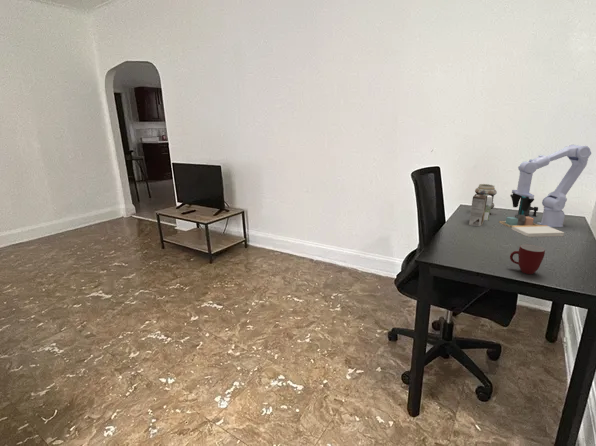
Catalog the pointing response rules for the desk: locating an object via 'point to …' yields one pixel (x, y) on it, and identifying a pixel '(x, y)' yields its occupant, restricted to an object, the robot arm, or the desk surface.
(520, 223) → the tan rectangular tray
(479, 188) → the stone pedestal urn
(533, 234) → the dock
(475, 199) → the coffee box
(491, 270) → the desk surface
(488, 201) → the syrup box
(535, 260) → the mug
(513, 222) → the light teal cube
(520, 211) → the surveillance camera
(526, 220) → the block
